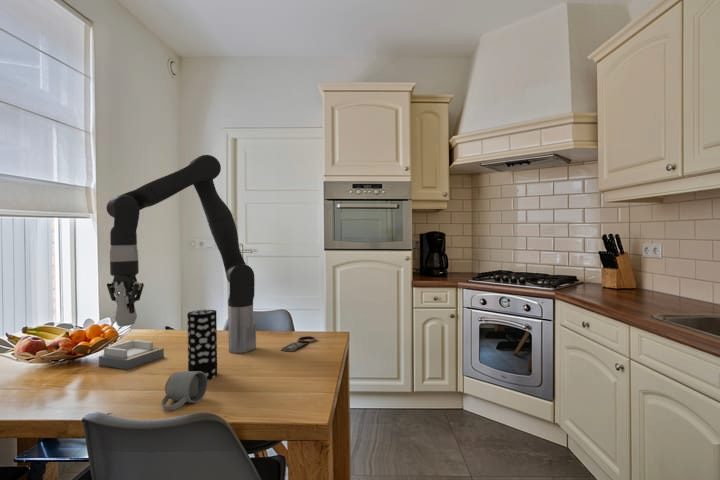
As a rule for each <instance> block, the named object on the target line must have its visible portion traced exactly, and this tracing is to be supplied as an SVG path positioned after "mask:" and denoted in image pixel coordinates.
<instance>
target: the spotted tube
mask: <svg viewBox="0 0 720 480" xmlns="http://www.w3.org/2000/svg"><path fill="white" fill-rule="evenodd" d="M186 318H187V360H188V361H187V372H189V371H201V372H203V373H205V375H206V377H207V381H209V380H212V379H215V378H216V377H218V334H217V333H218V332H217V331H218V330H217V329H218V328H217V327H218V326H217V325H218V322H217V321H218V320H217V310H215V309H200V310H193V311H189V312H187V317H186Z"/></svg>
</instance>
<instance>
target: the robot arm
mask: <svg viewBox="0 0 720 480" xmlns="http://www.w3.org/2000/svg"><path fill="white" fill-rule="evenodd" d="M221 169H222V168H221V163H220V161H219V160H218V159H217V158H216V157H215V156H214V155H210V154H203V155H200V156H198V157H196V158H195V159H193V160H191V161H190V162H189V164H188V165H187V166H185V167H183V168H180V169H179V170H177V171H175V172H172V173H170V174H167V175H164V176H162V177H158V178H157V179H154V180H152V181H149V182H147V183H145V184H143V185H141V186H139V187H136V189H133V190H131V191H127V192H125V193H123V194H120V195H117V196H115V197H112V198H111V199H110V200H108V202H107V203H106V212H107V213H108V215H109V216H110V217H112V218H113V226H112V228H111V229H110V232H109V235H110V237H109V243H110V249H109V274H110V276H112V277H113V280H112V281H111V282H107V283H106V287H107V291H108V293H109V297H110V300H111V301H112V302H115V303H116V305H117V304H118V298H119V291H117V286H118V285H119V284H121V287H123V296H124V297H125V301H126V303H127V304H126V305H127V309H128V307H129V312H130V313H134V306H135V303H136V302H139V301H140V300H141V296H142V293H143V289H144V287H145V283H143V282H139V281H138V279H137V275H138V274H139V250H138V249H139V248H138V241H137V240H138V233H137V231H138V230H137V229H138V225H139V220H140V219H139V218H140V211H141V210H143V209H146V208H150V207H152V206H155V205H157V204H159V203H161V202H163V201H165V200H168V199H169V198H171V197H173V196H175V195H176V194H178V193H180V192H181V191H183V190H185V189H187V188H189V187H191V186H193V188H194V189H195V191H196V194H197V196H198V199H199V201H200V204H201V206H202V209H203V212H204V215H205V217H206V221H207V224H208V227H209V230H210V233H211V235H212V238H213V241H214V242H215V244H216V248H217V249H218V251H219V254H220V255H221V256H220V257H221V259H222V263H223V267H224V268H223V269H224V272H225V276H226V280H227V282H228V283H229V285H228V286H229V291H228V293H229V295H228V300H227V305H228V306H227V307H228V308H227V310H228V313H227V316H228V320H227V323H228V326H227V327H228V352H229V353H233V354H241V353H243V354H247V353H249V352H251V351H253V350H255V349H257V332H256V331H257V328H256V326H257V325H256V323H254V299H255V272H254V270H253V268H252V267H251V266H250V265H249V264H247V263H246V262H245V260H244V256H243V255H242V253H241V249H240V244H239V234H238V227H237V226H236V225H237V224H236V223H235V219H234V216H233V213H232V212H231V210H230V208H229V207H228V205H227V204H226V203H225V202H224V201H223V199H222V198H221V197H220V195H219V193H218V192H217V189H216V187H215V182H214V179H216V178H217V177H219V175H220V173H221V171H222V170H221ZM127 292H131V293H127ZM129 295H131V297H130V299H129ZM131 310H132V311H131Z"/></svg>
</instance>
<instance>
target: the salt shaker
mask: <svg viewBox="0 0 720 480" xmlns="http://www.w3.org/2000/svg"><path fill="white" fill-rule="evenodd" d="M117 291H119V298H118V304H117V303H116V311H115V318H114V320H115V322H116V324H117V326H118V327H128V326H132V325H134V324H135V323H136V320H137V318H138V315H137V311H136V310H137V309H136V308H135V305H134V313H130V312H129V307H128V309H127V305H126V304H127V303H126V301H125V297H124V296H123V287H121V284H119V285H118V286H117ZM127 293H131V292H127ZM130 297H131V295H129V299H130ZM131 311H132V310H131Z"/></svg>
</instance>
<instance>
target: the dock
mask: <svg viewBox="0 0 720 480" xmlns="http://www.w3.org/2000/svg"><path fill="white" fill-rule="evenodd" d="M164 350H165V349H164V347H154V341H147V340H138V339H132V340H127V341H125V342H120V343H117V344H114V345H110V346H106V347H103V351H104V352H103V354H102V355H99V356H98V365H99V366H104V367H110V368H117V369H123V370H129V369H134V368H135V367H138V366H141V365H145V364H147V363H151V362H152V361H156V360H158V359H162V358H164V357H165V352H164Z"/></svg>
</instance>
